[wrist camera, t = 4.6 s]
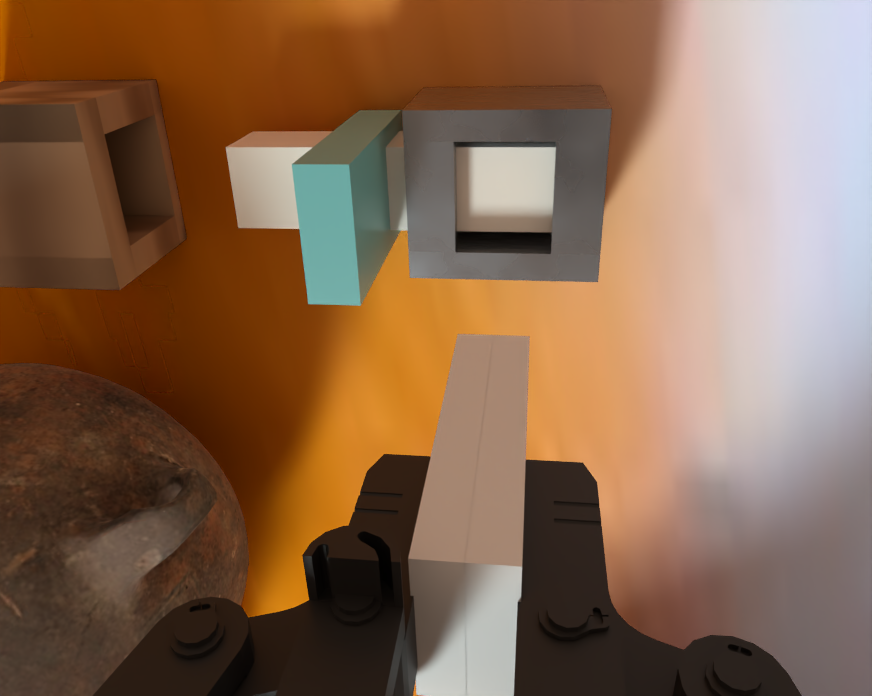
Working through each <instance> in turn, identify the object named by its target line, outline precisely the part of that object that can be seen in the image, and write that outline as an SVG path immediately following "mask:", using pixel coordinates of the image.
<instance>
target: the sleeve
mask: <svg viewBox="0 0 872 696" xmlns="http://www.w3.org/2000/svg"><path fill="white" fill-rule="evenodd" d="M611 113H612V108H611V106H610V104H609V102H608V100H607V98H606V96H605V94H604V92H603V90H602V88H601V86H528V87H433V88H423V89H422V90H421V91H420V92H419V93H418V94H417V95H416V96H415V97H414V98H413V99H412V101H411V102H410V103H409V104H408V105H407V106H406V107H405V108H404V109H403V110H402V121H403V142H404V163H405V184H406V205H407V226H408V247H409V268H410V278H442V279H487V280H531V281H575V282H598V275H599V262H600V250H601V238H602V225H603V213H604V200H605V188H606V175H607V163H608V151H609V138H610V126H611ZM456 142H556V148H555V169H554V190H553V211H552V232H481V231H457V175H456Z"/></svg>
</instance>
